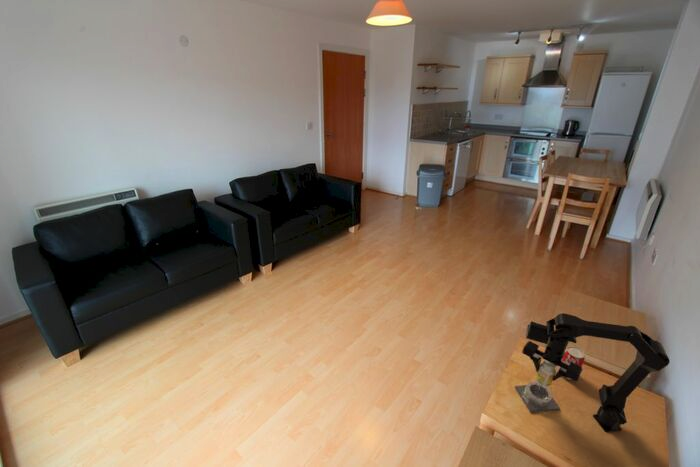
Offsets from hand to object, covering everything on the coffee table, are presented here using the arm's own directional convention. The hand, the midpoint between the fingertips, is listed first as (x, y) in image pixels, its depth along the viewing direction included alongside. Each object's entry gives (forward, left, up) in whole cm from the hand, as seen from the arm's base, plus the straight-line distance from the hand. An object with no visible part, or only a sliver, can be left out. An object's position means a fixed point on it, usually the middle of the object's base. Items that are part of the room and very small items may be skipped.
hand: (545, 375), depth 125 cm
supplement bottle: (0, 0, -3) cm, 3 cm away
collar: (0, 0, -13) cm, 13 cm away
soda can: (+10, -20, -13) cm, 26 cm away
